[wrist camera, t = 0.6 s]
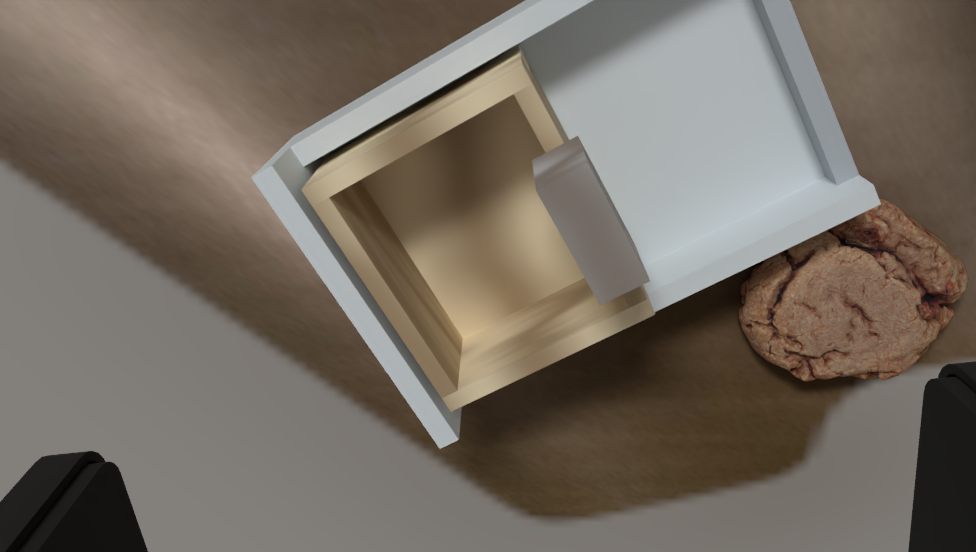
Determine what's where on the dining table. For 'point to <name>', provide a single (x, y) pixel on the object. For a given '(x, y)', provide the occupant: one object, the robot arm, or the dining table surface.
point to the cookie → (853, 298)
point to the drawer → (483, 232)
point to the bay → (625, 145)
